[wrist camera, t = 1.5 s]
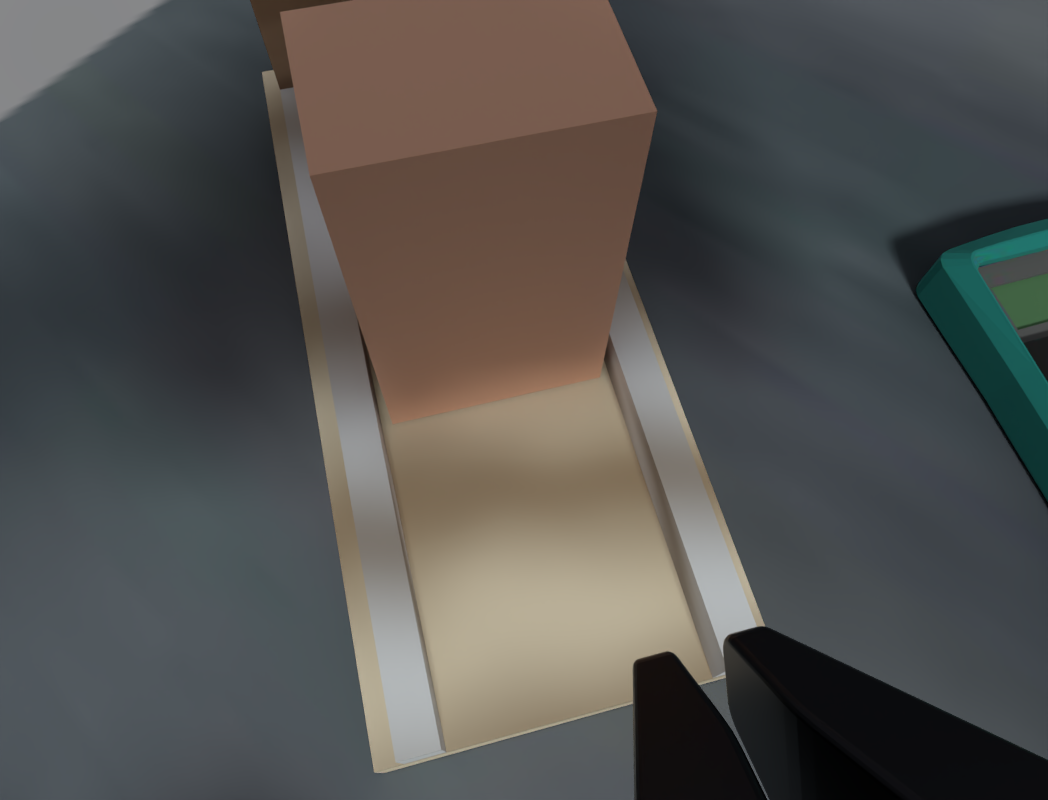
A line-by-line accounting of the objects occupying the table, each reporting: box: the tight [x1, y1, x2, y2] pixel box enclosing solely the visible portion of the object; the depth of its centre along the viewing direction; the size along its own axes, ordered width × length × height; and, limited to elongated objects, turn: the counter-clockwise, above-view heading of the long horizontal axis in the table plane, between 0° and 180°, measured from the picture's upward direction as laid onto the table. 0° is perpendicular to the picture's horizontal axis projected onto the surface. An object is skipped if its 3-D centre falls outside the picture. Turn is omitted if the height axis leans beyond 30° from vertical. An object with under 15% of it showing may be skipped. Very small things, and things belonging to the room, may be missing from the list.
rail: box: [250, 0, 765, 773], centre depth 22 cm, size 23×10×6 cm, turn 14°
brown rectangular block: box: [280, 0, 657, 424], centre depth 19 cm, size 4×6×10 cm, turn 104°
